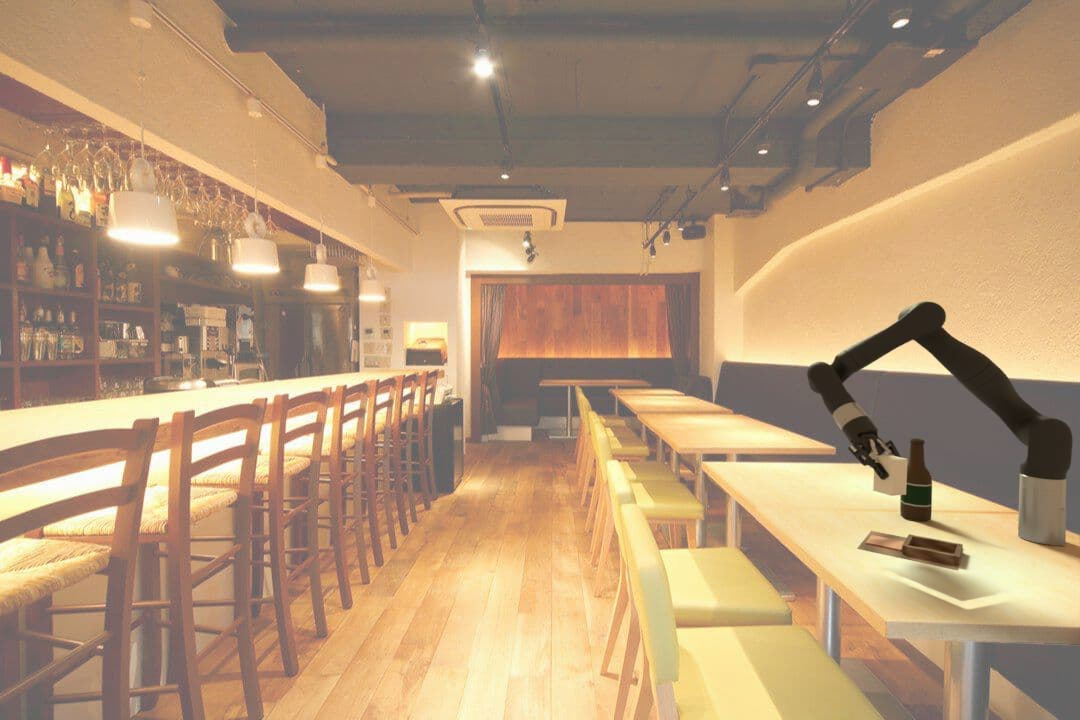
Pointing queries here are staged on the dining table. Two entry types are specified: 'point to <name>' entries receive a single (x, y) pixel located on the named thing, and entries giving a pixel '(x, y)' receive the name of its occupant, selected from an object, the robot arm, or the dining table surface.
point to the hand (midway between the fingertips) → (893, 477)
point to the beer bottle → (917, 486)
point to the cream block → (892, 476)
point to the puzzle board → (915, 549)
